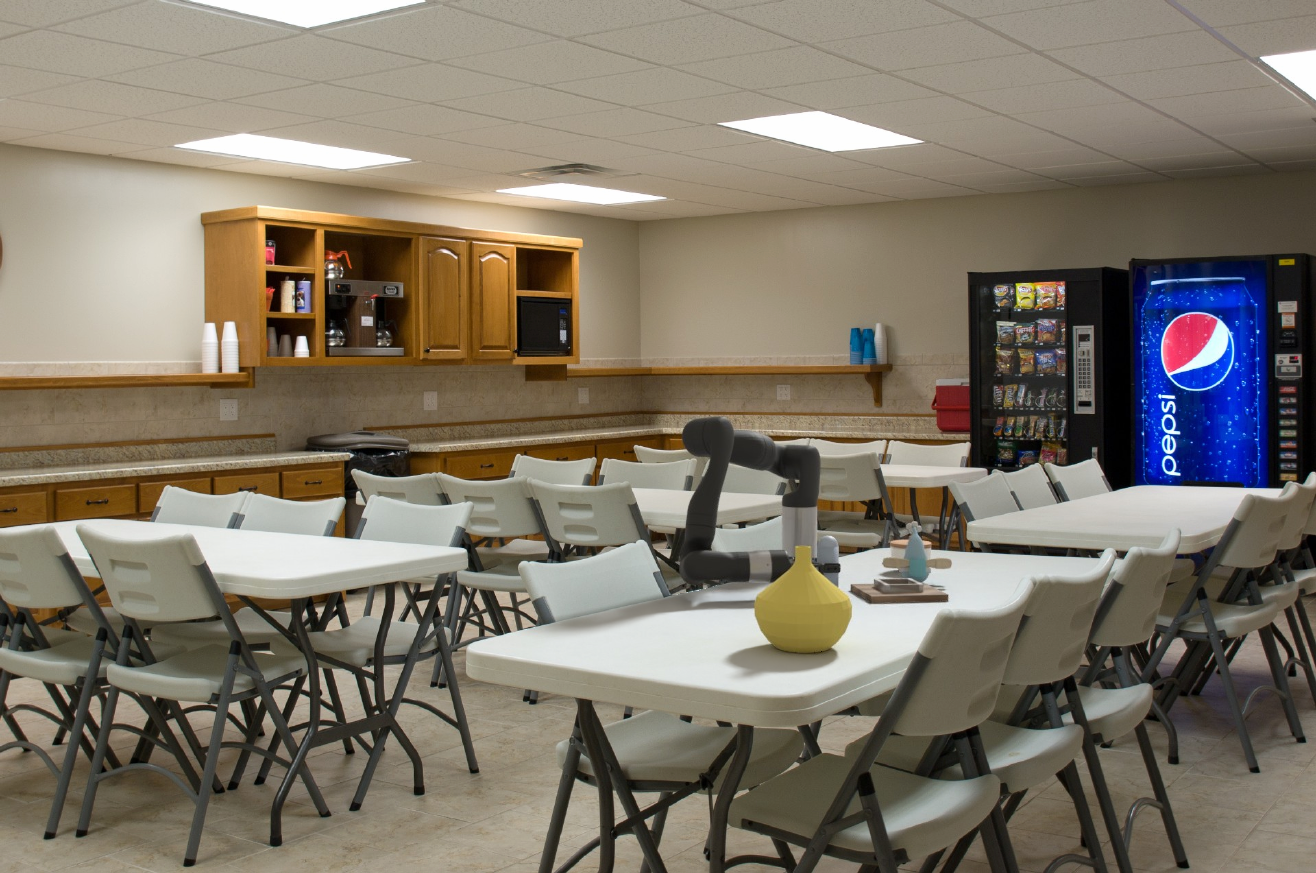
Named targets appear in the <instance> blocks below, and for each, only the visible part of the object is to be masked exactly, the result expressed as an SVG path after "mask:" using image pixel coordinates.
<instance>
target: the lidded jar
mask: <svg viewBox="0 0 1316 873" xmlns="http://www.w3.org/2000/svg"><path fill="white" fill-rule="evenodd" d="M911 536H912V535H909V536H908V539H894V540H892V541H889V547H890V550H889V551H890V557H898V558H904V556H905V549H906V548H907V544H908V541H909V539H910V537H911ZM922 541H923V544H924V548H925V553H926V556H927V558H928V559H931V557H932V556H931V555H932V542H931V541H929V540H928V541H927V540H922ZM896 569H897V570H898V572H899V573H900V568H896Z"/></svg>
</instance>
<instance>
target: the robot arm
mask: <svg viewBox="0 0 1316 873" xmlns="http://www.w3.org/2000/svg"><path fill="white" fill-rule="evenodd" d="M681 441H682V444H683V446H684V448H685V450H686V451H687V452H688V453H689V454H691V456H693V457H697V458H709V463H708V466H707V469H706V472H705V474H704V475H703V477H702V479H701V481H700V482H699V484H698V486H697V487H696V489H695V490H694V492H693V494H692V496H691V497H690V499H689V502H688V506H687V511H686V519H685V529H684V541H683V544H682V550H681V555H680V560H679V567H678V568H679V575H680V577H681V579H682V580H683V581H684V582H685V583H686V584H688V585H690V586H698V585H701V584H702V583H704V582H706V581H725V582H727V583H755V584H772V583H773V582H775V581H776V580H777V579H778V578H780V577H781V576H782V575H783V574H784V573H786V572H787V571H788V570H789V569H790V568H791V567H792V566H793V564H794V563H795V547H796V546H810V547H811V563H812V564H813V566H814V567H815V568H816V570H817V567H818V571H819V572H820V573H821V574H822V575H824V574H825V573H839V574H840V573H841V567H842V566H841V563H823V562H821V563H817V544H818V501H819V500H818V499H819V495H820V484H821V483H820V482H821V481H820V479H821V468H822V467H821V463H822V462H821V456H820V455H821V454H820V451H819V450H818V448H817V447H816V446H814V445H807V444H805V445H804V444H778V443H775V441H774V440H773V439H772V438H771V437H770V436H769V435H766V434H764V433H761V432H758V431H753V430H747V429H734V426H733V424H732V421H730V419H729V418H727V417H725V416H709V417H699V418H694V419H692V420H689V421H688V422H687V423H686V424H685V426H684V427H683V429H682V432H681ZM729 464H734V465H736V466H740V467H743V468H746V469H751V470H755V471H761V472H762V471H763V472H764V471H766V472H769V473H771V474H773V475H775V476H776V477H777V476H778V477H780V478H783V479H785V480H789V481H790V480H791V481H792V480H793V481H798V486H797V488H795V489H794V490H793V491H791V492H788V493H784V494H782V497H781V549H769V550H768V549H761V550H760V549H759V550H758V549H757V550H751V551H729V552H725V551H717V550H712V545H713V542H714V539H715V536H716V532H717V531H716V529H717V520H718V512H719V504H720V499H721V494H722V490H723V486H724V483H725V480H726V476H727V472H728V468H729Z"/></svg>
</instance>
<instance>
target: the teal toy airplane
mask: <svg viewBox="0 0 1316 873" xmlns="http://www.w3.org/2000/svg"><path fill="white" fill-rule="evenodd" d="M905 528H906V530H907V531H908V532H909V534H910V536H911V537H910V539H909V538H908V540H909V541H908V544H907V548H906V549H905V556H904V558H898V557H891V556H890V557H889V556H888V557H884V558H883V559H882V562H881V565H882V566H883V568H886V569H897V568H900V572H899V573H900V574H901V576H902V578H911V579H913V580H916V581H918V582H920V583H924V582H925V581H926V580H927V579H928V578H929V575H930V574H931V573H932V569H936V570H946V569H948V570H949V569H951V568H952V565H953V563H952V559H951V558H948V557H947V558H946V557H936V558H935V557H934V558H930V559H928V558H927V556H926V553H925V548H924V544H923V541H924V540H922V537H921V536H919V534H918V533H921V532H922V531H923V528H922V526H921V525H919V523H918V521H911V522H909V523H908V522H907V524H906V525H905Z"/></svg>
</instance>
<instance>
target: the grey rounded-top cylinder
mask: <svg viewBox="0 0 1316 873" xmlns="http://www.w3.org/2000/svg"><path fill="white" fill-rule="evenodd" d="M839 548H840V547H839V543H838V541H837V539H836V538H835V537H834V536H832V535H823V536H822V537H821V538H819V540H817V563H821V562H823V563H839V562H840V561H839V560H840V559H839V558H840V557H839V555H840V554H839V552H840V551H839ZM839 564H840V563H839ZM817 571H818V567H817ZM839 574H840V573H825V574H824V575H823V576H824V577H826V578H827V579H828V580H829V581H830V582H831V583H833V584H834V585H835V586H836V587H838V588H839V576H840V575H839Z"/></svg>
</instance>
